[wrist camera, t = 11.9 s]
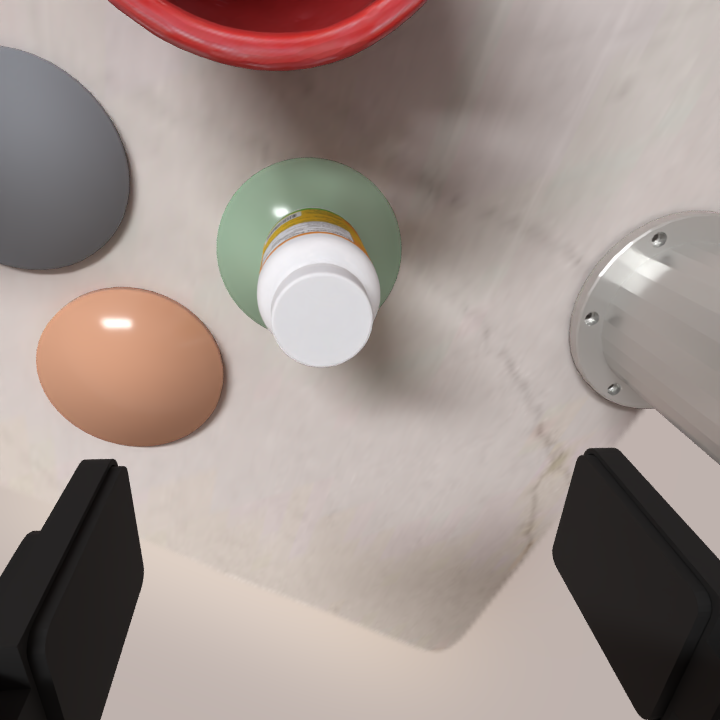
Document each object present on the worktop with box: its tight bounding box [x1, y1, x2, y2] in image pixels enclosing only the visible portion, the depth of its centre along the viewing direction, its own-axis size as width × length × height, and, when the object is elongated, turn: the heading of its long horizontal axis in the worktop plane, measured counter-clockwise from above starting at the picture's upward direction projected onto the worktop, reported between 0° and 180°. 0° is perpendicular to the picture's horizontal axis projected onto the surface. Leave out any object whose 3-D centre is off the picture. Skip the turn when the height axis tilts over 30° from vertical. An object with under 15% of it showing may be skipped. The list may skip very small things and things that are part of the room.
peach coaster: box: [36, 287, 224, 446], centre depth 31 cm, size 10×10×1 cm
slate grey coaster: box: [0, 46, 130, 270], centre depth 26 cm, size 10×10×1 cm
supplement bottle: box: [257, 207, 380, 367], centre depth 25 cm, size 5×5×10 cm
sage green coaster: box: [217, 158, 401, 330], centre depth 30 cm, size 10×10×1 cm
